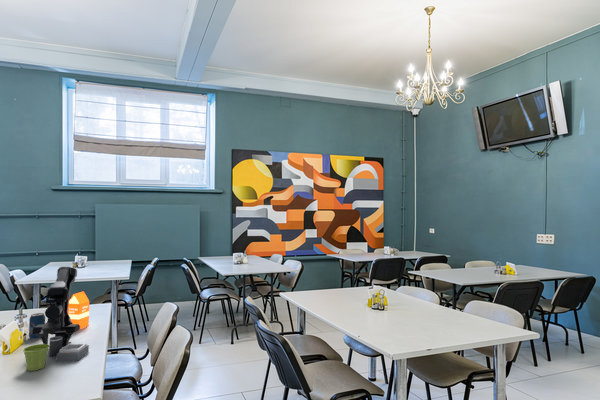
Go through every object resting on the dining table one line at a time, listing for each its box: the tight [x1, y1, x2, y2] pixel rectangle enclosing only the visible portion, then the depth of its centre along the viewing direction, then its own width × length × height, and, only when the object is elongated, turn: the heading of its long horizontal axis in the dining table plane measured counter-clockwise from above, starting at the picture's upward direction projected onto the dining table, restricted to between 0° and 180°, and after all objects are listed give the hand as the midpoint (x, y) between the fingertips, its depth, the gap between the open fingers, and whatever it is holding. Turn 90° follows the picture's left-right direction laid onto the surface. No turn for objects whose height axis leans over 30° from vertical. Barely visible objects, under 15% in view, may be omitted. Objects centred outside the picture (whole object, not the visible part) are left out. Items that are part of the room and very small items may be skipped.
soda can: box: [28, 312, 46, 340], centre depth 204 cm, size 7×7×12 cm
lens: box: [48, 335, 63, 358], centre depth 179 cm, size 5×5×8 cm
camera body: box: [55, 343, 90, 363], centre depth 177 cm, size 11×9×5 cm
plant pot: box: [22, 343, 49, 372], centre depth 164 cm, size 9×9×9 cm
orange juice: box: [68, 291, 90, 330], centre depth 223 cm, size 8×9×20 cm
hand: (55, 347), depth 179 cm, fingers open, 8 cm apart
